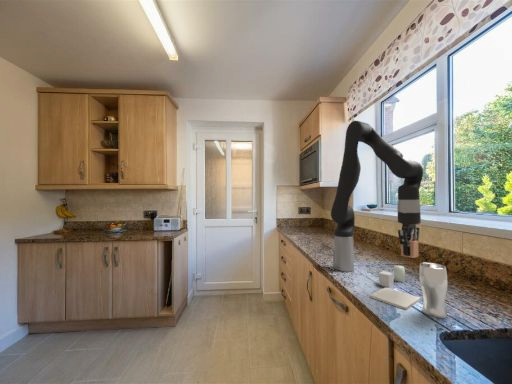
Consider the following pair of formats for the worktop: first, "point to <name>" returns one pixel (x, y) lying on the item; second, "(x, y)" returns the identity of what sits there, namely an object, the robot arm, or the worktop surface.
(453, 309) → the worktop surface
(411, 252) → the terracotta block
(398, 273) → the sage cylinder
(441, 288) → the beer glass
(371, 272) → the worktop surface
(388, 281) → the grey block
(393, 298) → the cream pad
